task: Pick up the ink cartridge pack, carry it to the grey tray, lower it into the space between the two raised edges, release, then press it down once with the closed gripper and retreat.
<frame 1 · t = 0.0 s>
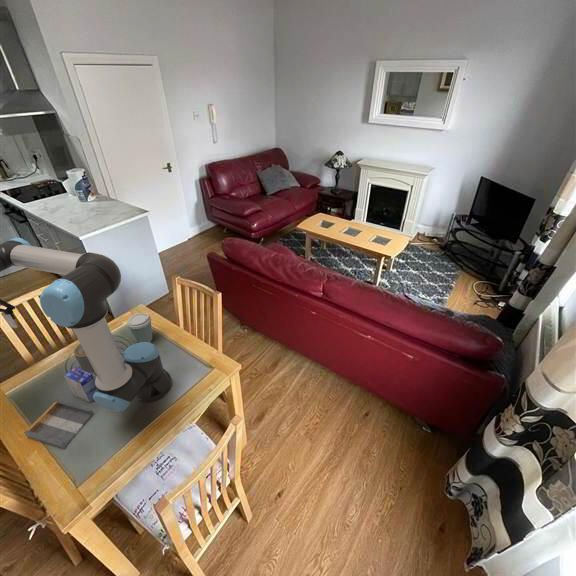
grey tray: (62, 425, 115), on the table
ink cartridge box: (88, 394, 126), on the table
disposable coffee cup: (145, 340, 152), on the table
coffee mug: (96, 360, 141), on the table
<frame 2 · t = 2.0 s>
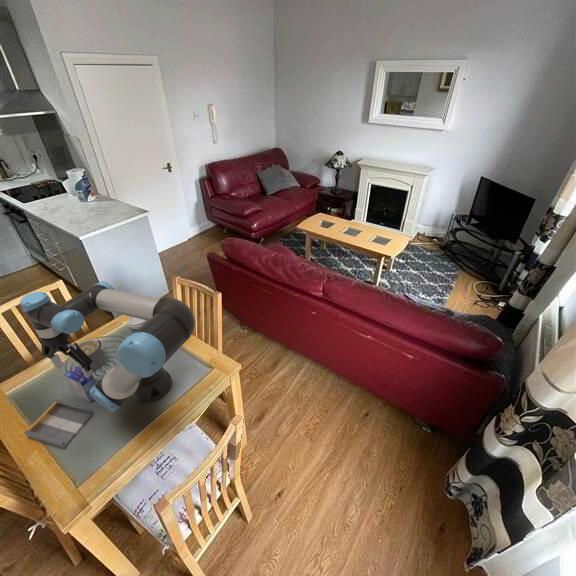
hand: (75, 371, 118), 14 cm above the table, fingers open, 13 cm apart
nothing on the table moved.
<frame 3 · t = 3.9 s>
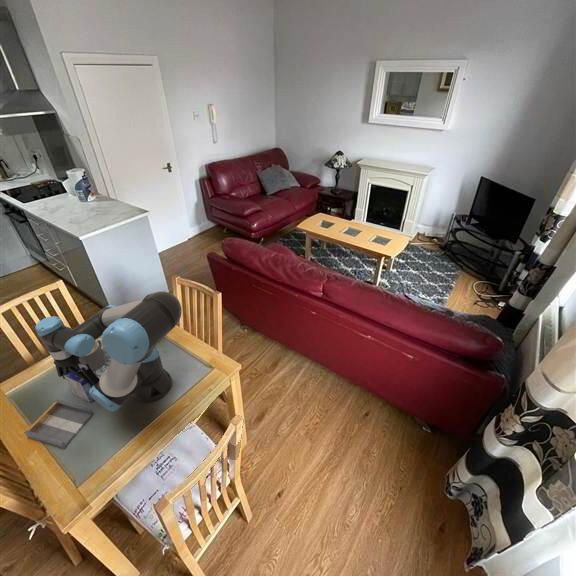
hand: (86, 390, 125), 2 cm above the table, fingers closed on ink cartridge box, 10 cm apart
ink cartridge box: (88, 394, 126), on the table, touching gripper
everything else where it was.
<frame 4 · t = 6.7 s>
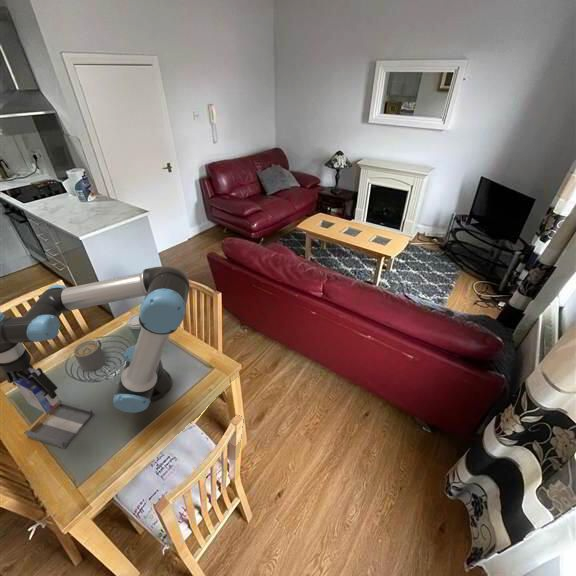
hand: (42, 398, 105), 16 cm above the table, fingers closed on ink cartridge box, 10 cm apart
ink cartridge box: (46, 403, 107), point 14 cm above the table, touching gripper
everything else where it was.
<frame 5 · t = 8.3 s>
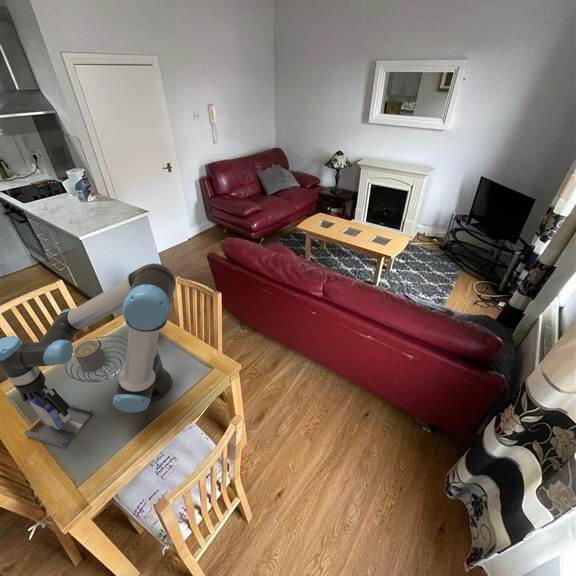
hand: (55, 415, 111), 6 cm above the table, fingers closed on ink cartridge box, 10 cm apart
ink cartridge box: (58, 419, 113), point 4 cm above the table, touching gripper
everything else where it was.
when the fingers open (5 cm above the table, at t = 9.6 s): ink cartridge box drops 1 cm, resting on grey tray.
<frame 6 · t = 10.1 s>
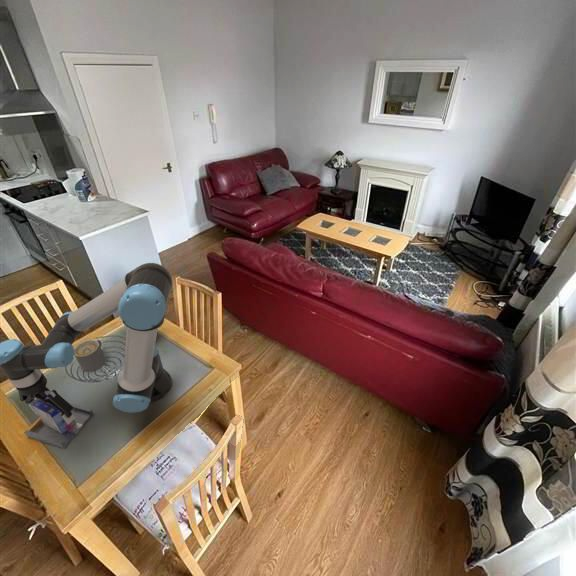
hand: (55, 416, 111), 6 cm above the table, fingers open, 13 cm apart
ink cartridge box: (61, 423, 114), point 1 cm above the table, touching grey tray
everything else where it was.
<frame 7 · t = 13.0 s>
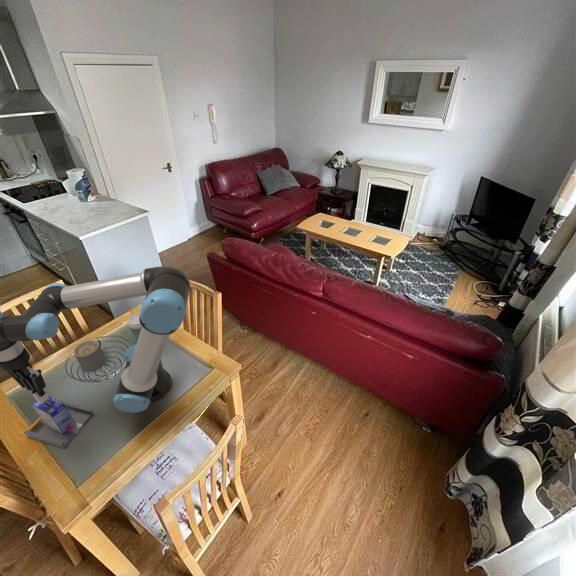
hand: (43, 400, 106), 16 cm above the table, fingers closed
ink cartridge box: (61, 423, 114), point 1 cm above the table, touching gripper, grey tray
everything else where it was.
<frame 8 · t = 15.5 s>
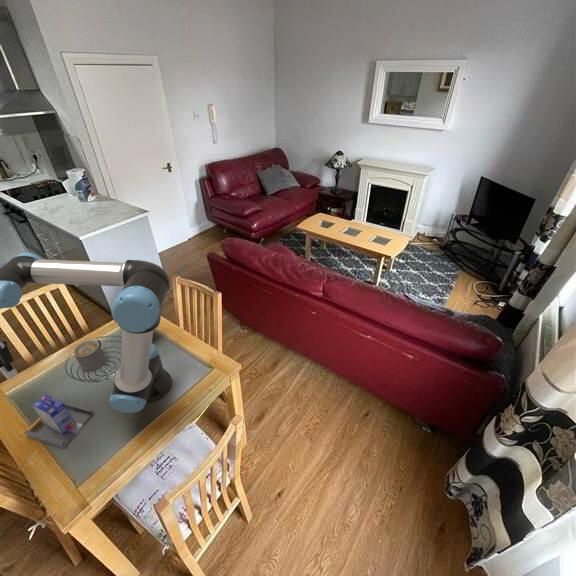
hand: (12, 375, 101), 26 cm above the table, fingers closed
ink cartridge box: (61, 423, 114), point 1 cm above the table, touching grey tray
everything else where it was.
at the end: ink cartridge box inside the target area on the grey tray (0.0 cm from its centre), point 0.8 cm above the grey tray's base; ink cartridge box tilted 0°; the gripper is holding nothing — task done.
